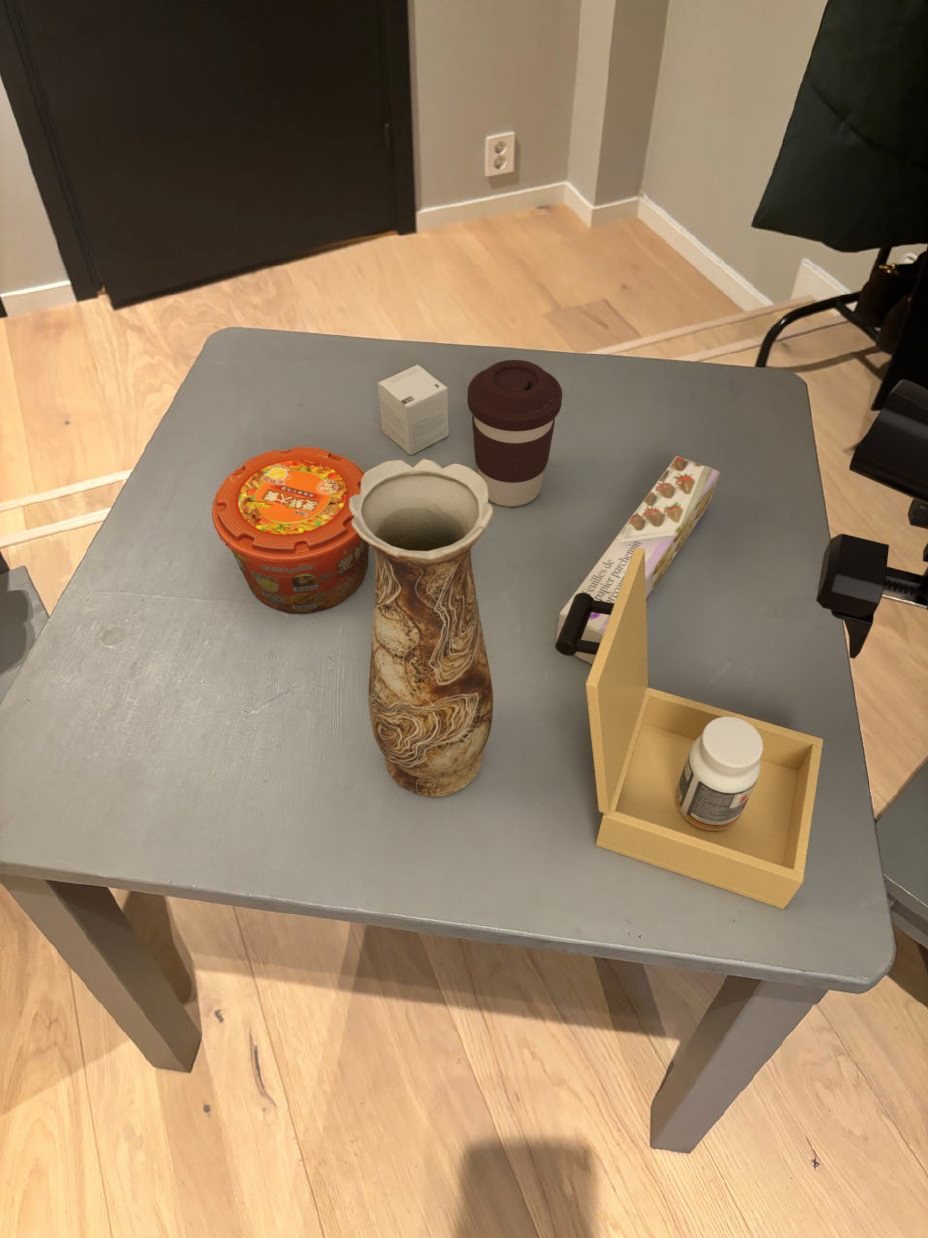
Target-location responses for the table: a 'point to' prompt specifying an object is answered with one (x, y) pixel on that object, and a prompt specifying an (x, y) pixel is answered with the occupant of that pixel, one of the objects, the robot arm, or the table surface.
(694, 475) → the box
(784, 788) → the shallow kraft tray
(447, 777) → the vase
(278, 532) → the food container
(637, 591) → the upright wooden panel
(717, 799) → the pill bottle
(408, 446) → the product carton
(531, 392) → the coffee cup
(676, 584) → the table surface
